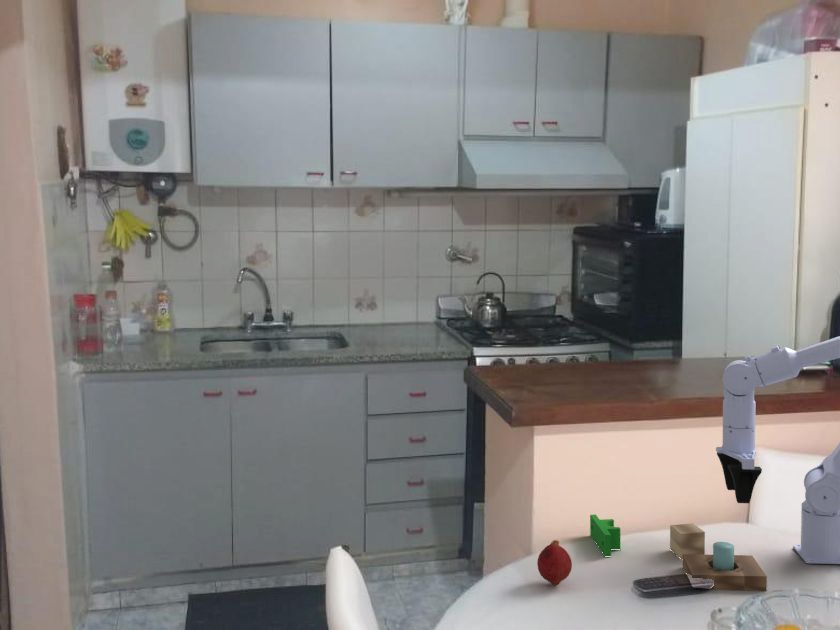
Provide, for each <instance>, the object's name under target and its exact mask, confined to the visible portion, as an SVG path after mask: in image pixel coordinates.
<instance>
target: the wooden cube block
mask: <svg viewBox="0 0 840 630" xmlns="http://www.w3.org/2000/svg"><path fill="white" fill-rule="evenodd" d="M669 527H670V528H669V532H670V533H669V538H670V539H669V550H670V549H671V550H672V551H673V552H674V553H675V554H676V555H677V556H678V557H680V558H681V559H683V554H698V555H706V553H705V551H706V549H705V546H706V545H705V544H706V541H705V539H706V532H705V531H704V530H703V529H701V528H700V527H699V526H698V525H696V524H695V523H694V522H692V523H681V524H680V523H679V524H670V526H669ZM674 553H673V554H674ZM675 554H674V555H675ZM676 555H675V556H676ZM677 556H676V557H677ZM678 557H677V558H678Z"/></svg>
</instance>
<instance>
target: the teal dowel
mask: <svg viewBox="0 0 840 630" xmlns="http://www.w3.org/2000/svg"><path fill="white" fill-rule="evenodd" d="M712 545H713V547H712V551H713V553H712V555H713V568H715V569H718V570H724V571H733V570H734V555H735V545H734V544H732V543H730V542H725V541H716V542H714V543H713V544H712Z"/></svg>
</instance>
